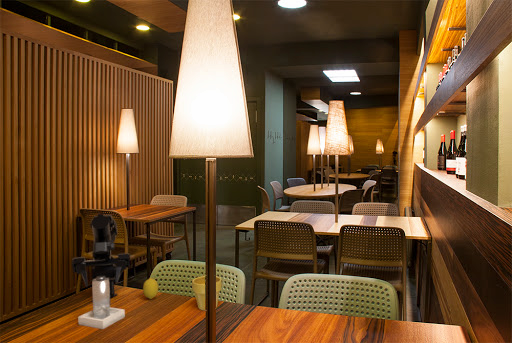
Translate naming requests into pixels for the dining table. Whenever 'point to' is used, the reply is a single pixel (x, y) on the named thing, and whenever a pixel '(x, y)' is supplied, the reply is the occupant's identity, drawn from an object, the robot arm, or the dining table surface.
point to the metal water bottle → (101, 297)
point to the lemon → (150, 288)
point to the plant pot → (199, 290)
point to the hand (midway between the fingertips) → (101, 284)
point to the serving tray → (101, 323)
